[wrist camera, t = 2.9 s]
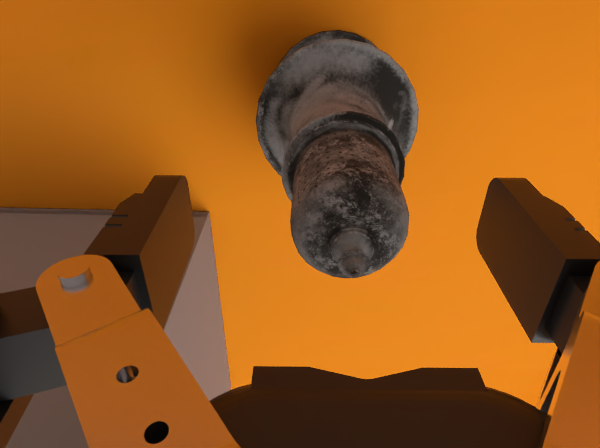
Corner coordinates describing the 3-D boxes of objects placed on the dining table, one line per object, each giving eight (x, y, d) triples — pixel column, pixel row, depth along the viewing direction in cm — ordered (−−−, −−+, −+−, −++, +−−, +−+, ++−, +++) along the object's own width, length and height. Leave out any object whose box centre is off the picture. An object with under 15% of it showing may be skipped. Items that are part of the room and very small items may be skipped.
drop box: (-62, 206, 22) (-474, 499, 11) (209, 212, 22) (91, 517, 10) (29, 380, 30) (-153, 661, 18) (230, 385, 30) (177, 674, 18)
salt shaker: (249, 136, 20) (185, 337, 10) (288, 0, 17) (251, 89, 7) (368, 174, 21) (421, 393, 11) (426, 50, 18) (575, 196, 8)
